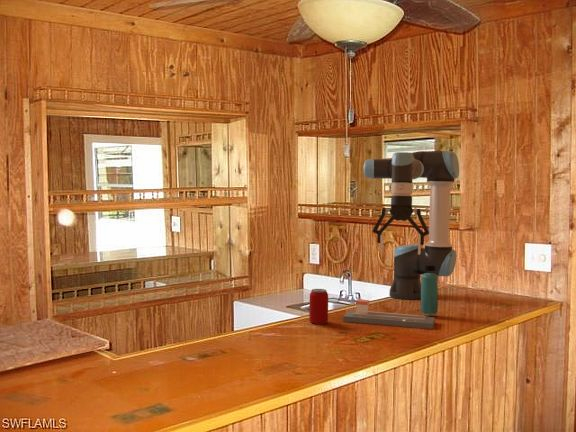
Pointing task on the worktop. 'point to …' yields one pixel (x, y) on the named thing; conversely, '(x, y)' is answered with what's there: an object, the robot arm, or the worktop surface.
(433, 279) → the beverage bottle
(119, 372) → the worktop surface
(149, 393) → the worktop surface
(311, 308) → the beverage can
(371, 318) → the board
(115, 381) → the worktop surface
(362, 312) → the fader tab
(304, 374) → the worktop surface
